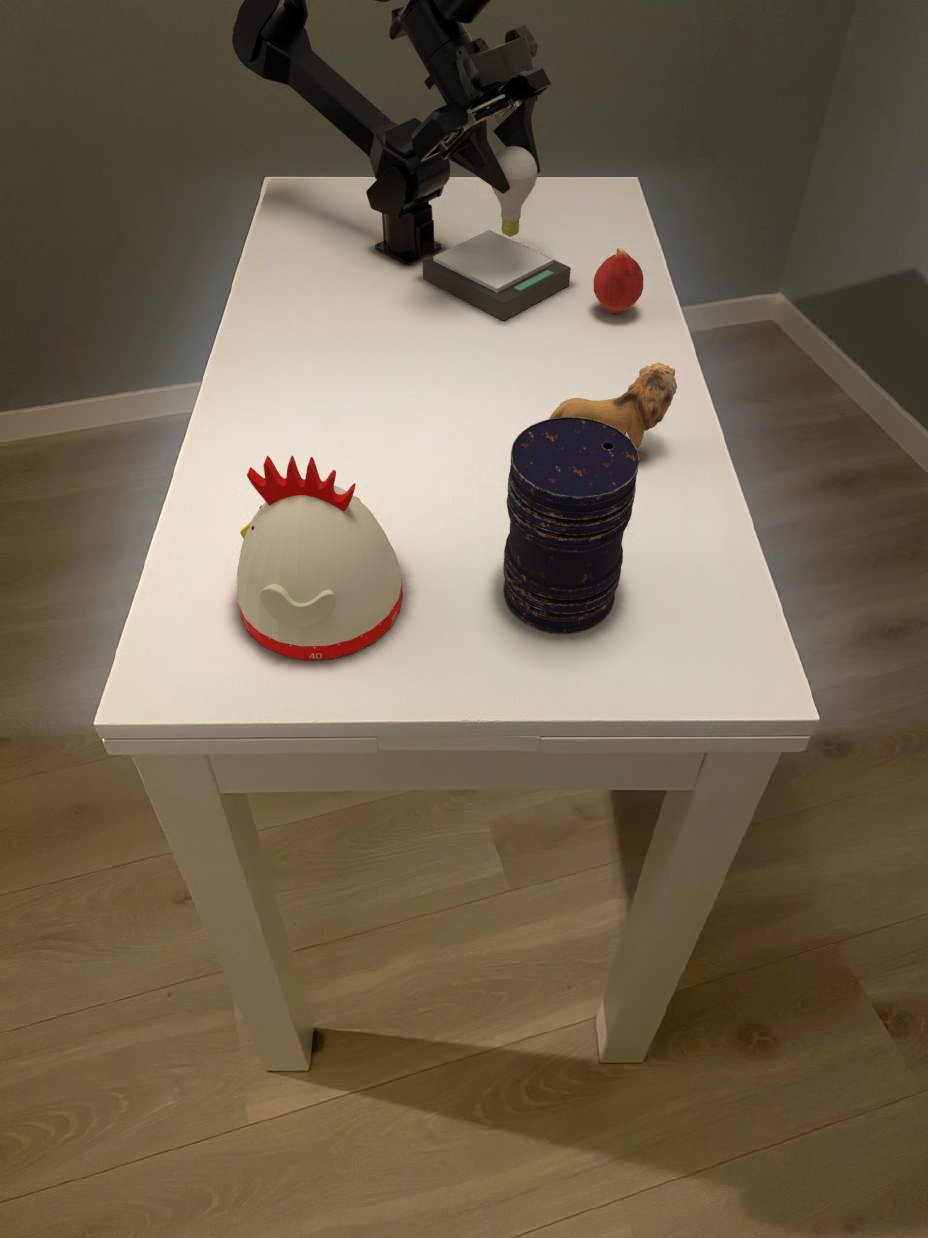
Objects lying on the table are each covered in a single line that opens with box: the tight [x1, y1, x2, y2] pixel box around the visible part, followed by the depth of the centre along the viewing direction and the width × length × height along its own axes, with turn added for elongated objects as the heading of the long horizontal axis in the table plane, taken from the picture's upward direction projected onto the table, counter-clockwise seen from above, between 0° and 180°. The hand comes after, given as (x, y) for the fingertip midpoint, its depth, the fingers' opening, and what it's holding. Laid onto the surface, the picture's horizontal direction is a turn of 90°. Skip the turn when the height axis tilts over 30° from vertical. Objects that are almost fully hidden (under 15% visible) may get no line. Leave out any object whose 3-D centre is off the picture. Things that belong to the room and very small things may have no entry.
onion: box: [593, 247, 644, 314], centre depth 109 cm, size 6×6×8 cm
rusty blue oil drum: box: [502, 417, 640, 635], centre depth 76 cm, size 10×10×15 cm
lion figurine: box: [548, 362, 678, 462], centre depth 91 cm, size 15×5×9 cm, turn 110°
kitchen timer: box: [236, 455, 404, 661], centre depth 75 cm, size 14×14×15 cm
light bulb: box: [490, 146, 538, 238], centre depth 107 cm, size 6×6×10 cm
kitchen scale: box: [422, 229, 572, 322], centre depth 116 cm, size 14×12×3 cm
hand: (522, 182), depth 105 cm, fingers closed on light bulb, 5 cm apart
